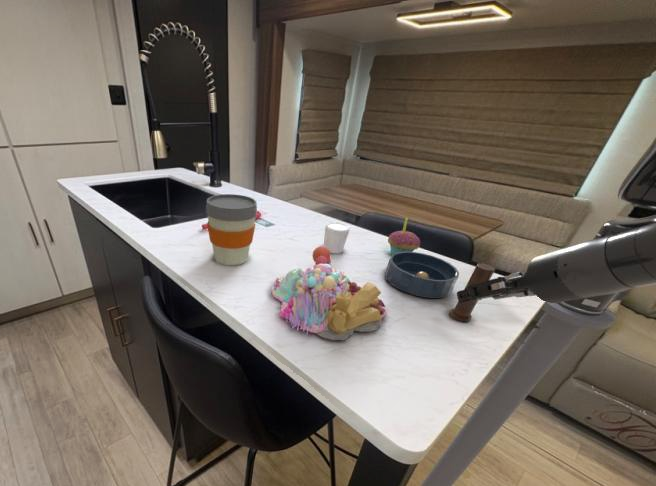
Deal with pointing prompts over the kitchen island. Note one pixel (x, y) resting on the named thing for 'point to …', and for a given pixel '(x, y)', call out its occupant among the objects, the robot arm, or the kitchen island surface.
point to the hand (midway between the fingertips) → (477, 295)
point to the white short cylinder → (335, 237)
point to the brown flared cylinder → (479, 275)
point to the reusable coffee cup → (231, 227)
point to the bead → (422, 275)
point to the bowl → (409, 264)
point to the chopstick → (204, 226)
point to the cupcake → (403, 240)
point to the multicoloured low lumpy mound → (328, 300)
